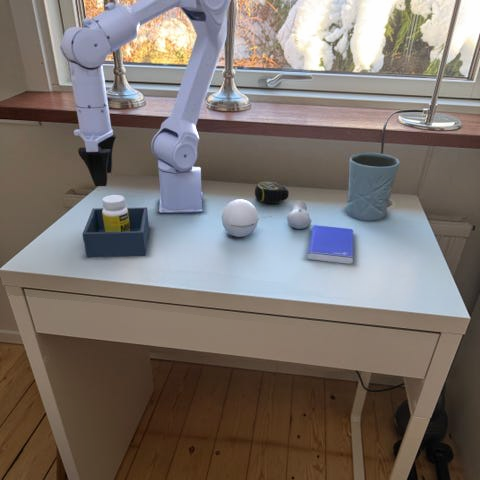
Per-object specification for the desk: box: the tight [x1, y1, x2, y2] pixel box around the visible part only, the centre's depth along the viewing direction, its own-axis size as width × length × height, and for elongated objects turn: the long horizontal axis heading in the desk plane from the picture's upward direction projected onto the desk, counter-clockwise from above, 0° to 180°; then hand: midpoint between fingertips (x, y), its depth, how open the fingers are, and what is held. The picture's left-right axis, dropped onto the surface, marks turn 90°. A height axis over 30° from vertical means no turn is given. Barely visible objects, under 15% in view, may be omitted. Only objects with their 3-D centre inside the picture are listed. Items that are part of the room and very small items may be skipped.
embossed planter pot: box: [346, 152, 401, 222], centre depth 101 cm, size 10×10×12 cm
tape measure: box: [254, 180, 289, 204], centre depth 109 cm, size 7×7×4 cm
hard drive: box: [307, 224, 354, 265], centre depth 90 cm, size 2×8×12 cm
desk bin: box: [82, 206, 150, 258], centre depth 89 cm, size 11×12×5 cm
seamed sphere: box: [221, 198, 273, 238], centre depth 92 cm, size 10×7×7 cm
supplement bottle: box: [102, 194, 130, 232], centre depth 88 cm, size 5×5×8 cm
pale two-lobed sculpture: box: [286, 199, 312, 230], centre depth 98 cm, size 4×8×5 cm
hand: (103, 178), depth 93 cm, fingers open, 7 cm apart
